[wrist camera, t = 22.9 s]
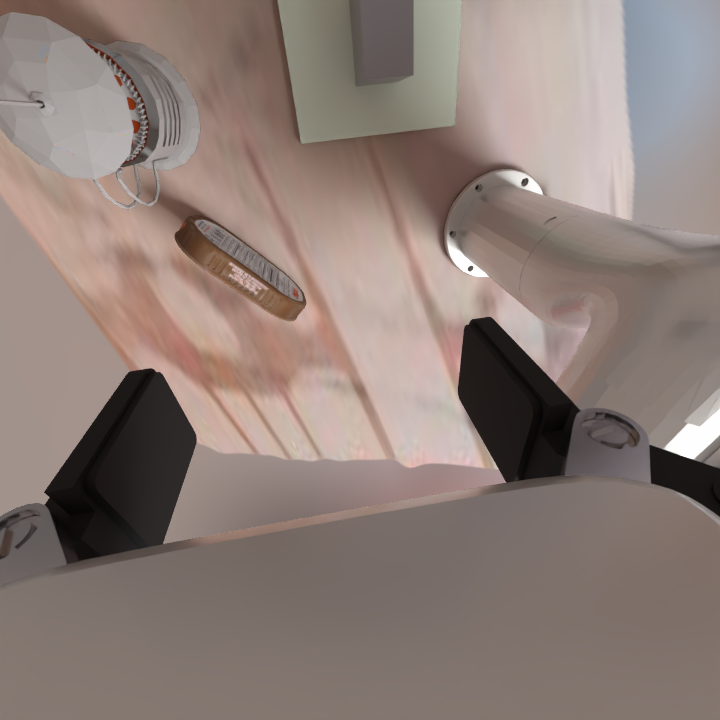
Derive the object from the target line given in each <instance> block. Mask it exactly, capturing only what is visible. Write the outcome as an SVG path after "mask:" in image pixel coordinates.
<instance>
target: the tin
mask: <svg viewBox="0 0 720 720" xmlns="http://www.w3.org/2000/svg"><path fill="white" fill-rule="evenodd" d="M175 240H176V242H177V244H178V246H179V247H180V248H181V249H182V251H183V252H184V253H185V254H186V255H187V256H188V257H189V258H190V259H192V260H193V261H194V262H195V263H196V264H198V265H199V266H200V267H202V268H203V269H204V270H206V271H207V272H209V273H210V274H212V275H213V276H215V277H216V278H218V279H219V280H221V281H222V282H224V283H225V284H227V285H228V286H230V287H231V288H233V289H234V290H236V291H237V292H239V293H240V294H242V295H243V296H245V297H246V298H248V299H249V300H251V301H252V302H254V303H255V304H257V305H258V306H259V307H261V308H262V309H264V310H265V311H267V312H268V313H270V314H272V315H274V316H276V317H278V318H280V319H283V320H286V321H294V320H296V318H297V316H298V315H299V314H300V312H301V311H302V310H303V309H304V308H305V306H306V299H305V296H304V293H303V292H302V290H301V289H300V288H299V286H298V285H297V284H296V283H295V282H294V281H293V280H292V279H291V278H290V277H289V276H287V275H286V274H285V273H284V272H283V271H281V270H280V269H279V268H277V267H276V266H275V265H273V264H272V263H271V262H270V261H268V260H267V259H266V258H264V257H263V256H262V255H260V254H259V253H258V252H256V251H255V250H254V249H252V248H251V247H250V246H248V245H247V244H246V243H244V242H243V241H242V240H240V239H239V238H238V237H236V236H235V235H234V234H232V233H231V232H230V231H228V230H227V229H225V228H224V227H222V226H220V225H219V224H217V223H215V222H214V221H212V220H210V219H207V218H205V217H202V216H190V217H188V218H187V219H186V220H185V222H184V223H183V225H182V227H181V228H180V230H179V231H177V232H176V233H175Z"/></svg>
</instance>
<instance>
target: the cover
mask: <svg viewBox="0 0 720 720" xmlns="http://www.w3.org/2000/svg"><path fill="white" fill-rule="evenodd" d="M277 1H278V7H279V13H280V19H281V25H282V31H283V37H284V43H285V49H286V55H287V61H288V67H289V73H290V79H291V85H292V91H293V97H294V103H295V109H296V115H297V122H298V128H299V134H300V140H301V144H305V143H314V142H322V141H330V140H339V139H347V138H356V137H364V136H372V135H381V134H389V133H398V132H406V131H415V130H423V129H431V128H440V127H448V126H455V115H456V98H457V81H458V64H459V47H460V31H461V14H462V0H277Z"/></svg>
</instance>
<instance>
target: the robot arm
mask: <svg viewBox="0 0 720 720" xmlns="http://www.w3.org/2000/svg"><path fill="white" fill-rule="evenodd" d="M522 180H523V181H522ZM521 182H522V183H521ZM476 186H478V187H477V189H475V187H476ZM451 231H452V233H451V234H449V233H450V232H451ZM444 244H445V248H446V251H447V254H448V256H449V258H450V260H451V261H452V262H453V263H454V264H455V265H456V266H457V267H458V268H459V269H460V270H461V271H463V272H465V273H466V274H469V275H472V276H476V277H487V276H488V277H490V278H491V279H492V280H493V281H494V282H496V283H497V284H498V285H499V286H500V287H502V288H503V289H504V290H505V291H506V292H508V293H509V294H510V295H511V296H512V297H514V298H515V299H516V300H517V301H518V302H520V303H521V304H522V305H523V306H524V307H526V308H527V309H528V310H529V311H530V312H532V313H533V314H534V315H536V316H537V317H538V318H540V319H541V320H543V321H544V322H546V323H549V324H551V325H554V326H558V327H562V328H588V331H587V332H586V334H585V336H584V338H583V339H582V341H581V343H580V344H579V346H578V349H577V351H576V352H575V354H574V355H573V357H572V359H571V360H570V362H569V363H568V365H567V366H566V368H565V370H564V371H563V373H562V374H561V376H560V378H559V379H558V381H557V382H556V384H555V383H554V382H553V381H552V380H551V379H550V378H549V376H548V375H547V374H546V373H545V372H544V371H543V370H542V369H541V368H540V367H539V366H538V365H537V364H536V363H535V362H534V361H533V360H532V359H531V358H530V357H529V356H528V355H527V354H526V353H525V352H524V351H523V349H522V348H521V347H520V346H519V345H518V344H517V343H516V342H515V341H514V340H513V339H512V338H511V337H510V336H509V335H508V334H507V333H506V332H505V331H504V330H503V329H502V328H501V327H500V326H499V325H498V324H497V323H496V321H495V320H494V319H493V318H491V317H485V318H478V319H472V320H471V321H470V323H469V325H466V326H465V328H464V336H463V345H462V355H461V365H460V374H459V384H458V395H459V399H460V401H461V403H462V405H463V406H464V408H465V410H466V412H467V413H468V415H469V417H470V419H471V421H472V422H473V424H474V426H475V428H476V429H477V431H478V433H479V435H480V437H481V438H482V440H483V442H484V444H485V445H486V447H487V449H488V451H489V453H490V454H491V456H492V458H493V460H494V461H495V463H496V465H497V467H498V468H499V470H500V472H501V474H502V475H503V477H504V479H505V481H506V482H507V483H502V484H496V485H490V486H484V487H477V488H471V489H465V490H459V491H454V492H449V493H442V494H437V495H431V496H425V497H420V498H414V499H408V500H403V501H397V502H391V503H386V504H380V505H374V506H368V507H363V508H357V509H352V510H346V511H341V512H335V513H330V514H324V515H318V516H313V517H308V518H302V519H297V520H291V521H286V522H280V523H275V524H269V525H264V526H258V527H253V528H247V529H242V530H237V531H231V532H226V533H220V534H215V535H210V536H205V537H199V538H194V539H188V540H184V541H178V542H172V543H167V544H163V541H164V538H165V535H166V532H167V529H168V527H169V523H170V521H171V518H172V514H173V511H174V508H175V506H176V502H177V500H178V497H179V494H180V491H181V488H182V485H183V482H184V479H185V476H186V473H187V470H188V467H189V464H190V461H191V458H192V455H193V452H194V449H195V445H196V440H197V439H196V434H195V431H194V430H193V428H192V426H191V424H190V423H189V421H188V419H187V417H186V415H185V414H184V412H183V410H182V408H181V406H180V405H179V403H178V401H177V399H176V397H175V396H174V394H173V392H172V390H171V389H170V387H169V385H168V383H167V381H166V380H165V378H164V376H163V375H162V374H161V373H160V372H156V371H155V370H154V369H151V368H150V369H143V370H136V371H131V372H129V373H128V374H127V375H126V376H125V378H124V379H123V381H122V382H121V383H120V385H119V386H118V388H117V389H116V391H115V392H114V393H113V395H112V396H111V398H110V399H109V401H108V402H107V403H106V405H105V406H104V408H103V409H102V411H101V412H100V413H99V415H98V416H97V418H96V419H95V421H94V422H93V423H92V425H91V426H90V428H89V429H88V431H87V432H86V433H85V435H84V436H83V438H82V439H81V441H80V442H79V443H78V445H77V446H76V448H75V449H74V450H73V452H72V453H71V455H70V456H69V458H68V459H67V460H66V462H65V463H64V465H63V466H62V467H61V469H60V470H59V472H58V473H57V475H56V476H55V477H54V479H53V480H52V482H51V483H50V485H49V486H48V487H47V489H46V490H45V492H44V493H46V494H47V495H48V496H49V497H50V498H49V499H48V501H47V502H46V504H45V505H43V504H39V503H34V504H27V505H24V506H21V507H18V508H15V509H13V510H11V511H9V512H7V513H5V514H3V515H2V516H1V517H0V720H720V236H715V235H706V234H696V233H688V232H682V231H676V230H670V229H664V228H658V227H654V226H650V225H645V224H641V223H637V222H633V221H629V220H626V219H622V218H619V217H615V216H612V215H609V214H605V213H601V212H597V211H594V210H591V209H587V208H584V207H581V206H578V205H574V204H571V203H568V202H564V201H561V200H558V199H554V198H551V197H548V196H545V195H543V192H542V189H541V188H540V186H539V184H538V183H537V182H536V181H535V180H534V179H533V178H532V177H531V176H530V175H528V174H526V173H524V172H521V171H518V170H513V169H499V170H494V171H491V172H488V173H485V174H483V175H482V176H480V177H478V178H476V179H475V180H474V181H472V182H471V183H470V184H469V185H467V186H466V187H465V188H464V190H463V191H462V192H461V193H460V194H459V195H458V197H457V198H456V200H455V201H454V203H453V204H452V206H451V208H450V211H449V213H448V215H447V219H446V223H445V228H444Z"/></svg>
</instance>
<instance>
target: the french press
mask: <svg viewBox="0 0 720 720" xmlns="http://www.w3.org/2000/svg"><path fill="white" fill-rule="evenodd" d="M0 128H1V130H2V131H3V132H4V134H5V135H6V136H7V137H8V139H9V140H10V141H11V143H13V144H14V145H15V146H16V147H18V148H19V149H20V150H21V151H23V152H24V153H25V154H26V155H28V156H29V157H30V158H31V159H33V160H34V161H35V162H36V163H38V164H39V165H41V166H43V167H46V168H48V169H50V170H53V171H55V172H57V173H60V174H62V175H64V176H67V177H70V178H82V179H93V182H94V183H95V184H96V186H97V187H98V188H99V190H100V191H101V192H102V193H103V195H104V196H105V197H106V198H108V199H109V200H110V201H111V202H113V203H114V204H115V205H117V206H119V207H122V208H124V209H130V208H133V207H135V206H136V205H137V204H138V203H140V204H143V205H147V206H152V205H153V204H154V203H156V202H157V200H158V197H159V193H160V184H159V177H158V173H157V170H165V171H168V170H170V169H173V168H176V167H178V166H181V165H183V164H185V163H186V161H187V160H188V159H189V158H190V157H191V155H192V154H193V153H194V152H195V151H196V148H197V143H198V139H199V135H200V130H201V128H200V121H199V114H198V107H197V104H196V102H195V100H194V97H193V95H192V93H191V91H190V89H189V87H188V85H187V83H186V81H185V79H184V78H183V77H182V76H181V75H180V74H179V73H178V71H177V70H176V69H175V68H174V67H173V66H172V65H171V64H170V62H169V61H168V60H167V59H166V58H165V57H163V56H161V55H159V54H158V53H156V52H154V51H153V50H151V49H149V48H148V47H146V46H144V45H143V44H139V43H132V42H125V41H115V42H112V43H110V44H107V45H103V44H100V43H98V42H95V41H92V40H90V39H82V38H80V37H79V36H77V35H76V34H74V33H72V32H70V31H69V30H67V29H65V28H63V27H62V26H60V25H58V24H56V23H54V22H53V21H51V20H49V19H47V18H46V17H42V16H36V15H29V14H23V13H16V12H9V13H7V14H4V15H2V16H0ZM130 165H133V166H134V171H135V176H136V181H137V188H138V194H137V197H136V196H135V195H134V194H132V193H131V192H130V191H129V189H128V188H127V186H126V185H125V183H124V182H123V180H122V179H121V177H120V173H122V172H123V170H122V169H121V168H119V167H126V166H130ZM139 165H140V166H142V167H144V168H146V169H153V170H154V175H155V180H156V188H157V192H156V197H155V198H154V200H153V201H151V202H149V203H147V202H144V201H141V200H139V198H140V195H141V186H140V179H139V175H138V170H137V166H139ZM112 173H116V177H117V179H118V181H119V182H120V183H121V185H122V186H123V188H124V189H125V190H126V192H127V193H128V194H129V195H130V196H131V197H132V198H134V199H135V201H134V203H132V204H131V205H129V206H128V205H123V204H121V203H119V202H117V201H115V200H114V199H112V198H111V197H110V196H109V195H108V194H107V193H106V192H105V190H104V189H103V188H102V186H101V185H100V184H99V182H98V181H97V179H98V178H100V177H103V176H105V175H108V174H112Z"/></svg>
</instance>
